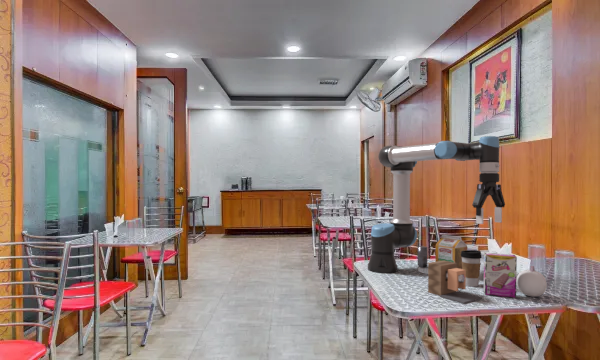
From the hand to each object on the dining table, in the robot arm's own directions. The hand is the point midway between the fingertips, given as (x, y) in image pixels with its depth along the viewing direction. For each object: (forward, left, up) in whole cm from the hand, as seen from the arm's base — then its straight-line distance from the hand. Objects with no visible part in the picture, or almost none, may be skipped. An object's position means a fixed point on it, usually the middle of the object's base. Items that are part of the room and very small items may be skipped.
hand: (489, 223), depth 154 cm
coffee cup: (-8, 0, -28) cm, 29 cm away
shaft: (-9, -21, -22) cm, 32 cm away
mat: (+1, -21, -28) cm, 35 cm away
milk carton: (-25, +10, -28) cm, 39 cm away
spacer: (-1, -21, -21) cm, 30 cm away
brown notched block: (-7, -21, -28) cm, 36 cm away
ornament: (+14, +6, -28) cm, 32 cm away
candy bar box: (+7, -4, -28) cm, 29 cm away
